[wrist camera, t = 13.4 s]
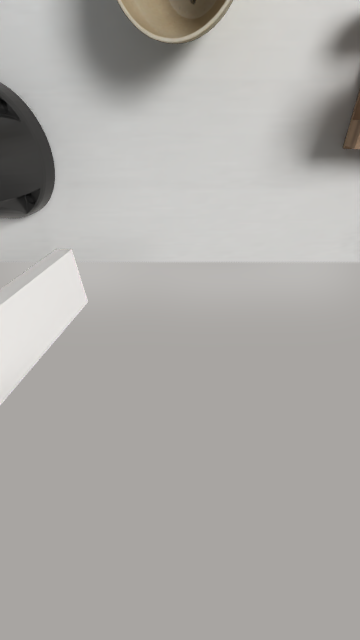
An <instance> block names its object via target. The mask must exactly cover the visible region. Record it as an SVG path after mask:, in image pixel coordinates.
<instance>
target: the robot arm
mask: <svg viewBox="0 0 360 640" xmlns="http://www.w3.org/2000/svg"><path fill="white" fill-rule="evenodd" d="M54 181H55V169H54V161H53V156H52V152H51V149H50V146H49V143H48V140H47V138H46V135H45V133H44V131H43V129H42V127H41V125H40V124H39V122H38V120H37V119H36V117H35V116H34V114H33V113H32V111H31V110H30V109H29V107H28V106H27V105H26V104H25V103H24V102H23V100H22V99H21V98H20V97H19V96H18V95H16V94H15V93H14V92H13V91H12V90H11V89H9V88H8V87H7V86H5V85H4V84H2V83H0V218H8V219H15V218H22V217H25V216H28V215H30V214H33V213H35V212H37V211H39V210H40V209H42V208H43V207H44V206H45V205H46V204H47V202H48V201H49V199H50V197H51V195H52V192H53V188H54ZM87 303H88V300H87V297H86V293H85V290H84V287H83V284H82V280H81V277H80V274H79V271H78V268H77V264H76V261H75V258H74V254H73V251H72V249H55V250H54V251H53V252H51V253H50V254H48V255H47V256H46V257H44V258H43V259H41V260H40V261H39V262H37V263H36V264H34V265H33V266H32V267H30V268H29V269H28V270H26V271H25V272H23V273H22V274H21V275H19V276H18V277H17V278H15V279H14V280H12V281H11V282H9V283H8V284H7V285H5V286H4V287H3V288H1V289H0V405H1V404H2V403H3V401H4V400H5V399H6V398H7V397H8V396H9V394H10V393H11V392H12V391H13V390H14V389H15V387H16V386H17V385H18V384H19V383H20V382H21V380H22V379H23V378H24V377H25V376H26V374H27V373H28V372H29V371H30V370H31V369H32V367H33V366H34V365H35V364H36V363H37V361H38V360H39V359H40V358H41V357H42V355H43V354H44V353H45V352H46V351H47V350H48V348H49V347H50V346H51V345H52V344H53V342H54V341H55V340H56V339H57V338H58V337H59V336H60V334H61V333H62V332H63V331H64V330H65V329H66V327H67V326H68V325H69V324H70V323H71V321H72V320H73V319H74V318H75V317H76V316H77V314H78V313H79V312H80V311H81V310H82V309H83V307H84V306H85V305H86V304H87Z"/></svg>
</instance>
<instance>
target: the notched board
mask: <svg viewBox="0 0 360 640" xmlns="http://www.w3.org/2000/svg"><path fill="white" fill-rule="evenodd" d="M343 148H344V149H360V90H359V94H358V97H357V101H356V104H355V107H354V111H353V114H352V118H351V121H350V125H349V128H348V131H347V135H346V138H345V142H344V145H343Z"/></svg>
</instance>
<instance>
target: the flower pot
mask: <svg viewBox="0 0 360 640" xmlns="http://www.w3.org/2000/svg"><path fill="white" fill-rule="evenodd" d="M117 1H118V3H119V5H120V7H121V9H122V10H123V12H124V13H125V15H126V16H127V18H128V19H129V20H130V21H131V22H132V23H133V25H134V26H135V27H136V28H137V29H139V30H140V31H141V32H142V33H144V34H145V35H147V36H148V37H150V38H152V39H155V40H157V41H161V42H165V43H172V44H178V43H185V42H189V41H193V40H195V39H197V38H199V37H201V36H203V35H204V34H206V33H207V32H209V31H210V30H211V29H212V28H213V27H214V26H215V25H216V24H217V23H218V22H219V21H220V20H221V19H222V17H223V16H224V15H225V13H226V12H227V10H228V9H229V7H230V5H231V4H232V2H233V0H196V1H195V3H194V0H117Z"/></svg>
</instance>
